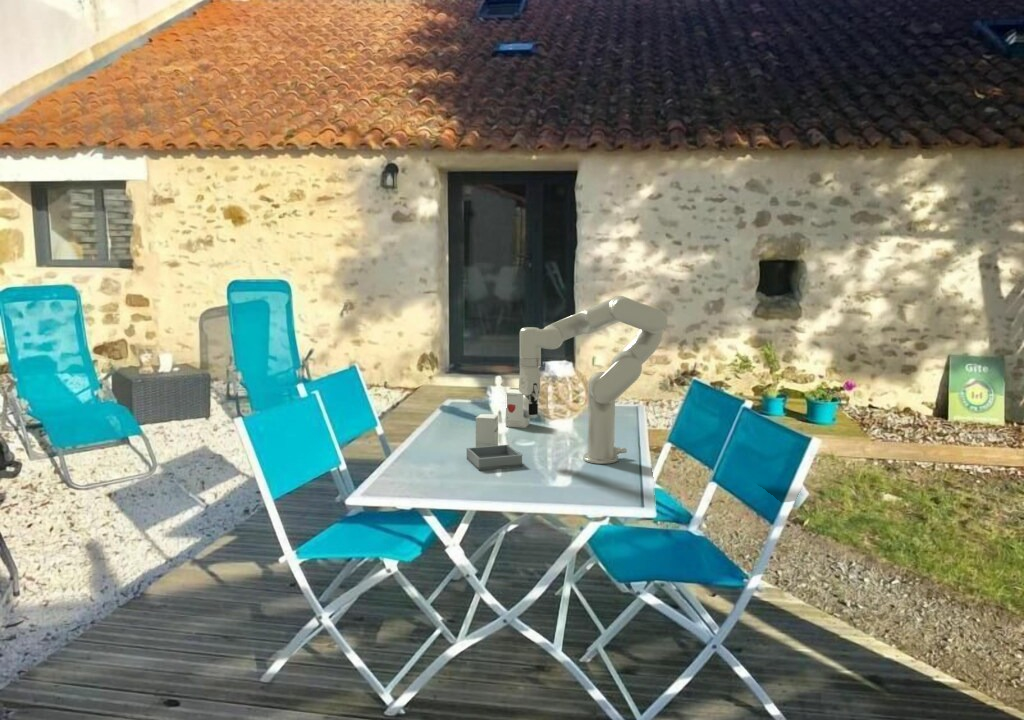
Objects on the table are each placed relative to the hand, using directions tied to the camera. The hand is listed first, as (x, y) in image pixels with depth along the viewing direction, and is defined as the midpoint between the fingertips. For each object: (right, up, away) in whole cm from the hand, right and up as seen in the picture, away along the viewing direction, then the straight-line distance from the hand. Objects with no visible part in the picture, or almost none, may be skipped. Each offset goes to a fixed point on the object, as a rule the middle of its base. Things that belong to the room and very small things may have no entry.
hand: (530, 412), depth 272 cm
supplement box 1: (-16, -15, +18) cm, 28 cm away
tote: (-13, -18, -1) cm, 22 cm away
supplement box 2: (-4, -10, +57) cm, 58 cm away
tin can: (0, -1, 0) cm, 2 cm away
